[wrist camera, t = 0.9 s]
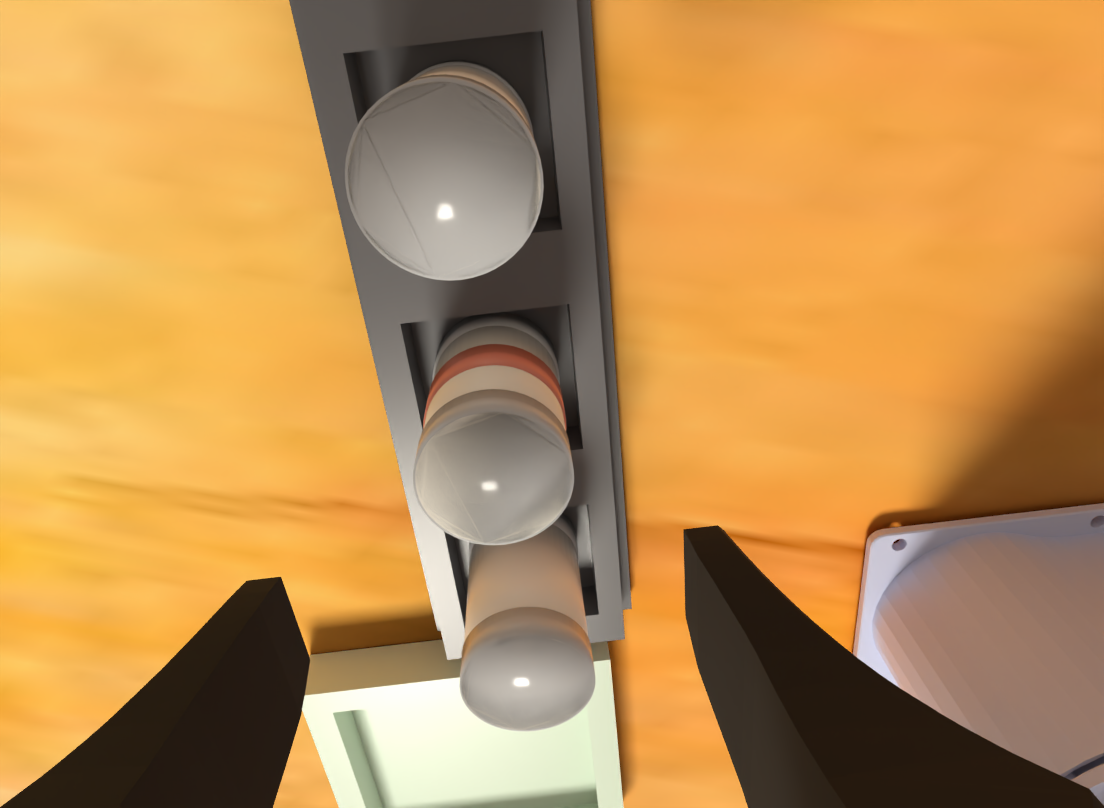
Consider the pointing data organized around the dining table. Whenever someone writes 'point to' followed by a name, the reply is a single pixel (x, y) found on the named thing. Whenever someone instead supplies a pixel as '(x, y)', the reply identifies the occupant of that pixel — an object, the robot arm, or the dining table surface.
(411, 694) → the tray
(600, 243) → the fuse block
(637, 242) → the dining table surface
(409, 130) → the fuse
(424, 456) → the fuse marked
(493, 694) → the fuse
